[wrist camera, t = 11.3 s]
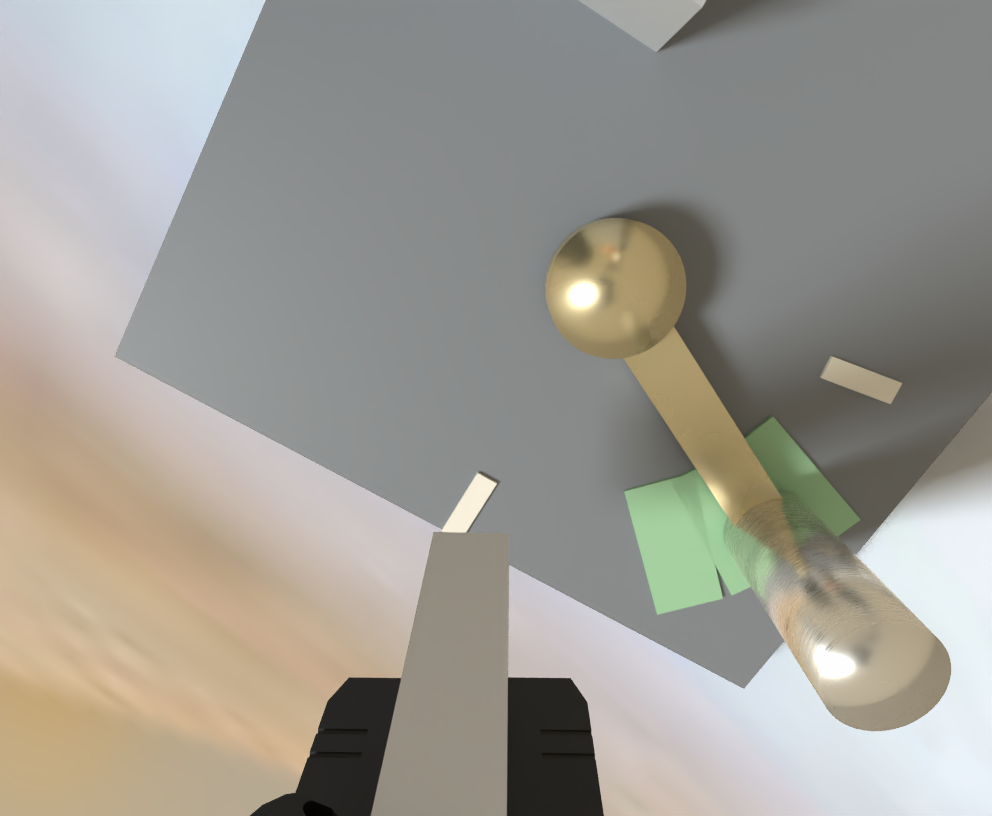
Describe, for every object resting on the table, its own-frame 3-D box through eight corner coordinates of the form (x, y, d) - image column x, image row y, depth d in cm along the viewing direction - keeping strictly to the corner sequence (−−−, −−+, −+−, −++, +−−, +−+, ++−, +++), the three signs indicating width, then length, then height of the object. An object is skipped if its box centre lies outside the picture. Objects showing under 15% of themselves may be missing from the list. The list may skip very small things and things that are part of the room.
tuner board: (559, -625, 13) (590, -1098, 8) (1295, -29, 16) (1638, -128, 11) (138, 346, 19) (13, 397, 14) (731, 662, 22) (795, 795, 17)
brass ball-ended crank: (519, 269, 17) (525, 306, 11) (631, 189, 16) (700, 185, 10) (737, 591, 19) (836, 760, 13) (841, 532, 18) (992, 683, 13)
